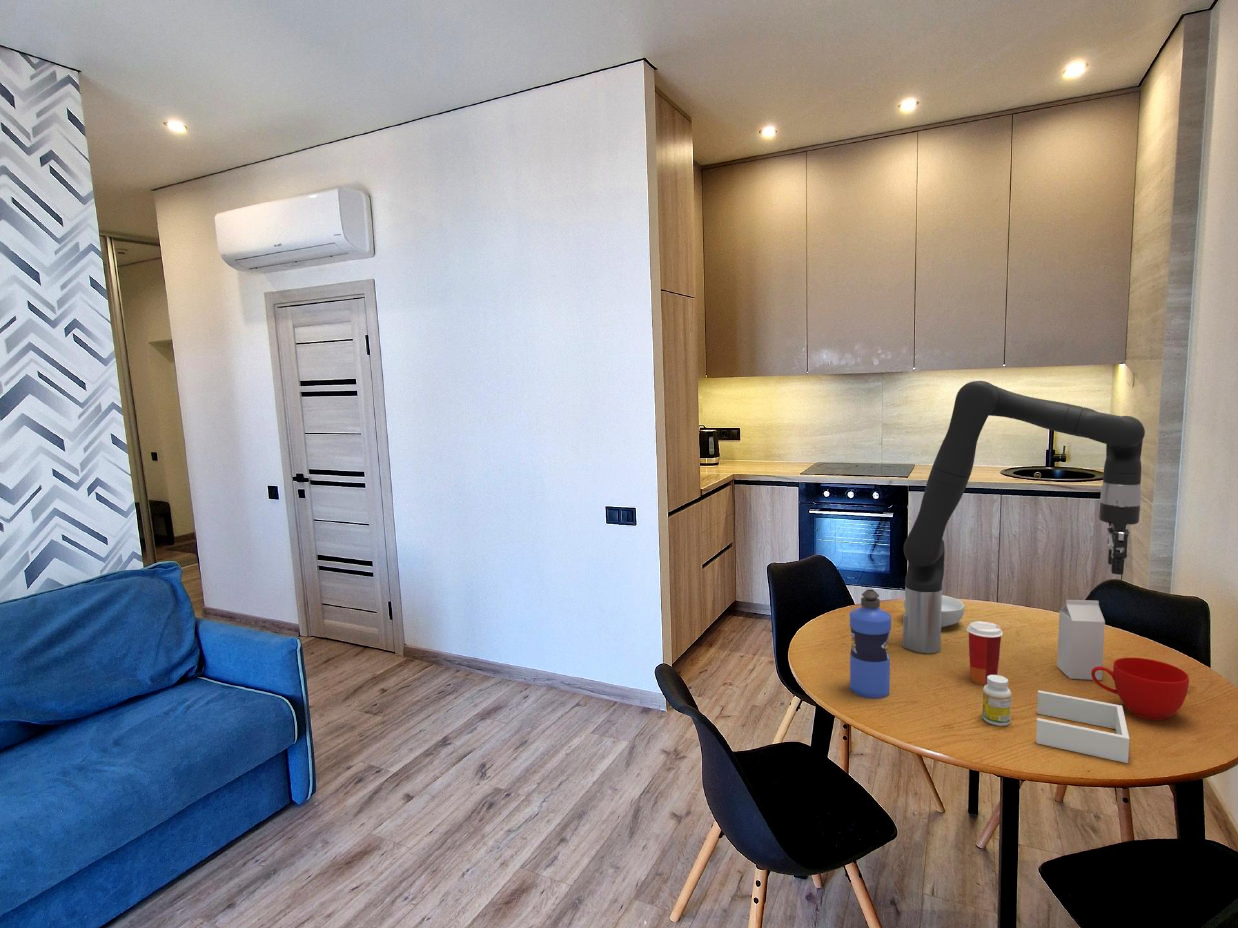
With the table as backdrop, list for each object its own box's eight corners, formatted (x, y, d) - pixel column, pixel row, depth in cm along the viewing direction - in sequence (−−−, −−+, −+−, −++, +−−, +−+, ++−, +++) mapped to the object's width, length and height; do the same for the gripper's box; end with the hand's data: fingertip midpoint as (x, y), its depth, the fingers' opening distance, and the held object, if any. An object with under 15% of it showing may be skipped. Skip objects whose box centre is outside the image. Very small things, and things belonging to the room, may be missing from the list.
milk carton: (1102, 680, 162) (1106, 605, 160) (1069, 679, 163) (1072, 604, 161) (1087, 668, 169) (1091, 596, 167) (1056, 666, 170) (1059, 595, 168)
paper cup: (997, 675, 167) (999, 621, 165) (1004, 689, 159) (1006, 633, 158) (962, 672, 169) (964, 619, 168) (967, 685, 162) (969, 630, 160)
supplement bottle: (1007, 729, 142) (1009, 686, 141) (979, 721, 145) (980, 679, 144) (1012, 718, 146) (1014, 677, 145) (985, 711, 149) (986, 671, 148)
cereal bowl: (960, 637, 191) (960, 614, 191) (898, 627, 201) (899, 605, 200) (966, 619, 206) (967, 597, 205) (908, 610, 215) (909, 589, 214)
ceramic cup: (1087, 690, 157) (1089, 650, 156) (1179, 706, 149) (1182, 663, 147) (1092, 715, 146) (1094, 671, 145) (1192, 733, 138) (1195, 687, 136)
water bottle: (848, 695, 159) (848, 594, 156) (850, 679, 168) (850, 583, 165) (890, 701, 156) (891, 598, 153) (890, 683, 164) (891, 586, 161)
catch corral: (1036, 742, 136) (1037, 719, 135) (1037, 711, 149) (1038, 690, 148) (1127, 763, 128) (1129, 738, 127) (1120, 728, 140) (1122, 705, 140)
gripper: (1097, 495, 163) (1093, 559, 165) (1102, 506, 151) (1098, 575, 153) (1136, 498, 159) (1131, 563, 161) (1144, 508, 147) (1139, 579, 149)
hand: (1115, 569), depth 157 cm, fingers open, 8 cm apart
